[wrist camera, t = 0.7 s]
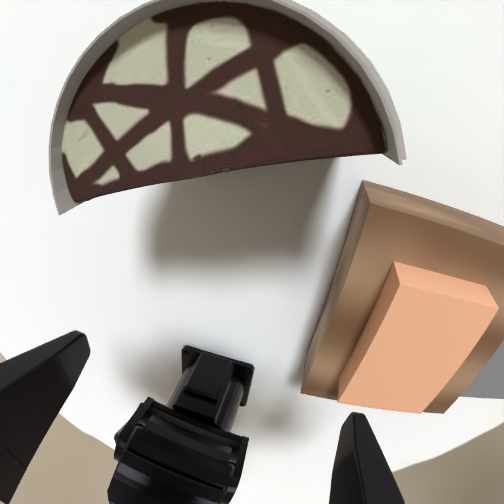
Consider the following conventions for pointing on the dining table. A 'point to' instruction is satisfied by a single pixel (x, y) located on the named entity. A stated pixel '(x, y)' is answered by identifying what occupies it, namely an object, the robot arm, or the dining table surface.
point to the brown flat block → (410, 253)
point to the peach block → (415, 339)
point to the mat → (489, 378)
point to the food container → (213, 97)
